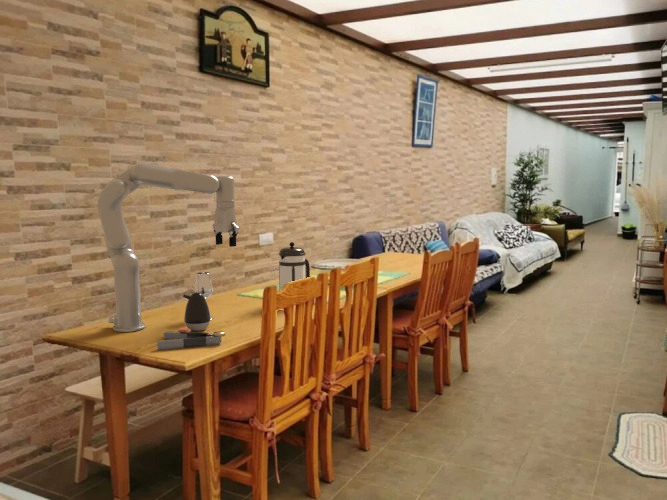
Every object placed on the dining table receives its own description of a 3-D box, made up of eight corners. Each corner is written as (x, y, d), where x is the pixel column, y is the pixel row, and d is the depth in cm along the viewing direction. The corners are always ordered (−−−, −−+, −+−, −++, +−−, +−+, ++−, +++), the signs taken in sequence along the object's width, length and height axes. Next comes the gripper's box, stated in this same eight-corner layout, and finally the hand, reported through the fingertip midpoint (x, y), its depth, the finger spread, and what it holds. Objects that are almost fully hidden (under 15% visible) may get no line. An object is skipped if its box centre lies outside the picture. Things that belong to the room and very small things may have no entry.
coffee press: (311, 307, 268) (310, 243, 264) (276, 307, 267) (275, 244, 263) (309, 299, 285) (309, 239, 281) (277, 299, 284) (276, 239, 280)
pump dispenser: (186, 326, 235) (185, 290, 233) (212, 325, 236) (211, 289, 234) (182, 333, 225) (180, 295, 223) (209, 332, 225) (207, 294, 224)
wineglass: (209, 321, 243) (207, 274, 240) (192, 320, 244) (190, 274, 242) (216, 316, 250) (215, 271, 248) (200, 316, 252) (198, 271, 249)
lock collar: (178, 340, 214) (178, 329, 214) (183, 337, 219) (183, 326, 218) (186, 340, 214) (185, 329, 213) (191, 337, 218) (190, 326, 217)
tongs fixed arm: (161, 342, 212) (160, 331, 212) (166, 338, 217) (166, 328, 216) (223, 345, 208) (222, 334, 208) (227, 341, 212) (227, 331, 212)
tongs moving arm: (157, 350, 202) (157, 341, 202) (157, 349, 204) (157, 340, 203) (220, 344, 209) (220, 336, 209) (219, 343, 211) (219, 334, 210)
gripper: (206, 204, 246) (206, 244, 248) (230, 206, 234) (230, 247, 236) (220, 204, 251) (221, 243, 253) (245, 205, 240) (245, 246, 242)
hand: (225, 245), depth 245 cm, fingers open, 9 cm apart
